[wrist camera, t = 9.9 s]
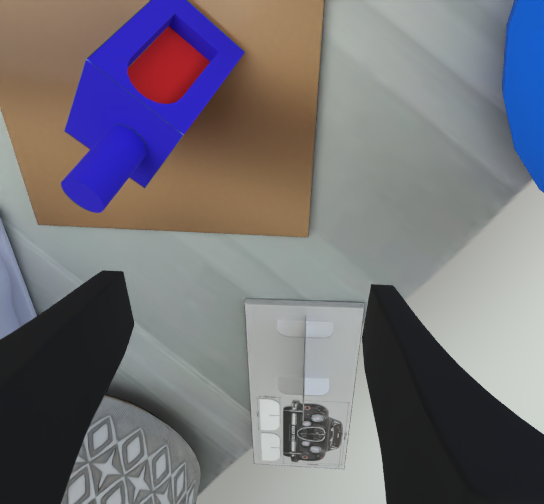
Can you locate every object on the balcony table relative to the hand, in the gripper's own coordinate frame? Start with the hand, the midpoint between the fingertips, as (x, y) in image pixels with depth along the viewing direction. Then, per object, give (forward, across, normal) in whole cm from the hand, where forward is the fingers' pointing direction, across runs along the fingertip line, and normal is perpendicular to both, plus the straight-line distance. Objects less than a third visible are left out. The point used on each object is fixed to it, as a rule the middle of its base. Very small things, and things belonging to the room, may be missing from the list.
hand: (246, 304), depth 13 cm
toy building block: (+9, +4, -4) cm, 11 cm away
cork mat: (+9, +5, -4) cm, 11 cm away
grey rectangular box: (+9, -2, +15) cm, 18 cm away
